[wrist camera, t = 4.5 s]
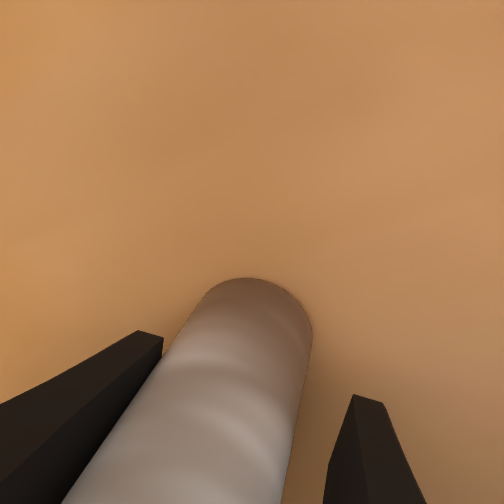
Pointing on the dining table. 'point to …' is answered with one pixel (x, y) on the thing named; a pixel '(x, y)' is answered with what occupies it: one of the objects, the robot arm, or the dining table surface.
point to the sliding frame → (211, 408)
